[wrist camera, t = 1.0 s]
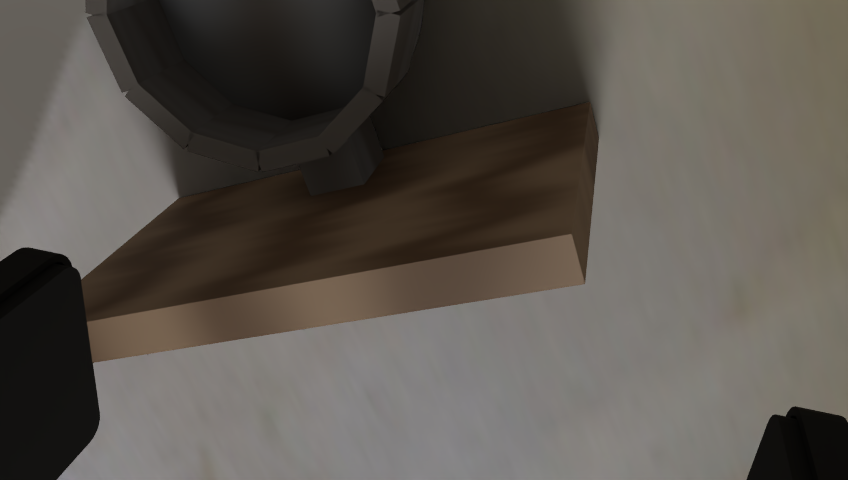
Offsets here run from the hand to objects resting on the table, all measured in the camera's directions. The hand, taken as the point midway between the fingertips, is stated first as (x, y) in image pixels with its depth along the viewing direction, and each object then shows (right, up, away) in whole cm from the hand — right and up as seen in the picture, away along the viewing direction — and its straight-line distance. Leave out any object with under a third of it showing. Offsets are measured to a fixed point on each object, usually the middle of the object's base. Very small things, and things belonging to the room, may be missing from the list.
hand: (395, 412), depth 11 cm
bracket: (-4, +11, +23) cm, 26 cm away
